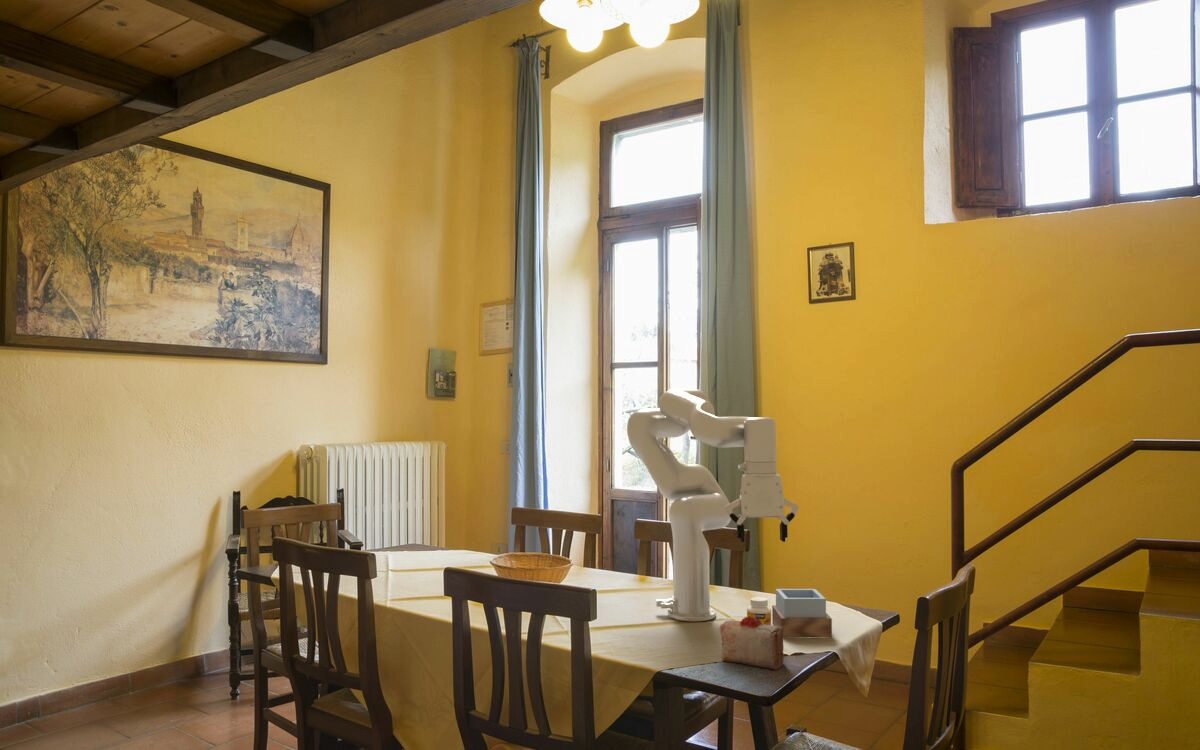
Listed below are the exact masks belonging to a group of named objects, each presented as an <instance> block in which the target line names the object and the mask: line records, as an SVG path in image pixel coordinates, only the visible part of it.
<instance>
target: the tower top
mask: <svg viewBox="0 0 1200 750" xmlns="http://www.w3.org/2000/svg"><path fill="white" fill-rule="evenodd" d="M775 605H776V607H777V609H778V610H779V611H780V612H781V614H782V615H783V616H784V617H785V618H826V613H827V598H826V597H824V596H823V595H822V594H821V593H820V592H819V591H818V590H817V589H816V588H775Z"/></svg>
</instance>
